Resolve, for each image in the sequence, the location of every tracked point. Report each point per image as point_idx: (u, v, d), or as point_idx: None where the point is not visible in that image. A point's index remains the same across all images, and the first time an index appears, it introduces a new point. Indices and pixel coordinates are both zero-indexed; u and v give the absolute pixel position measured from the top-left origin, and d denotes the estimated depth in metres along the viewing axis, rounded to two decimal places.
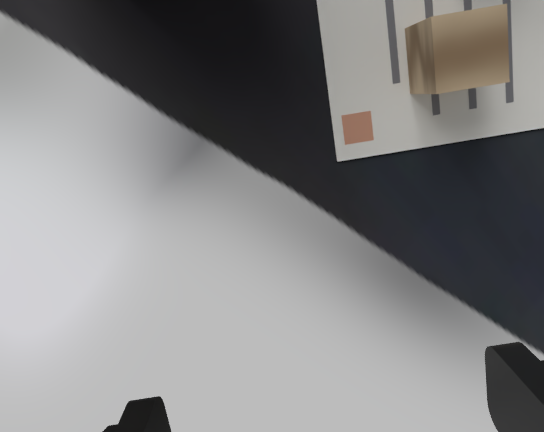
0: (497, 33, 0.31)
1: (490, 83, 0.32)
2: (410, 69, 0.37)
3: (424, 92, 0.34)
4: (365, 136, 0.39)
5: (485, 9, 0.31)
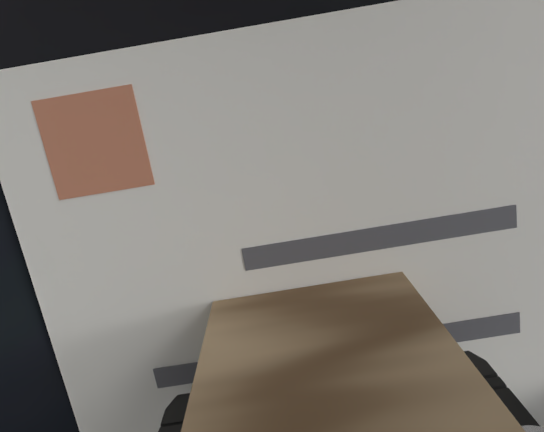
0: None
1: None
2: (284, 300, 0.12)
3: (198, 381, 0.09)
4: (68, 171, 0.11)
5: None
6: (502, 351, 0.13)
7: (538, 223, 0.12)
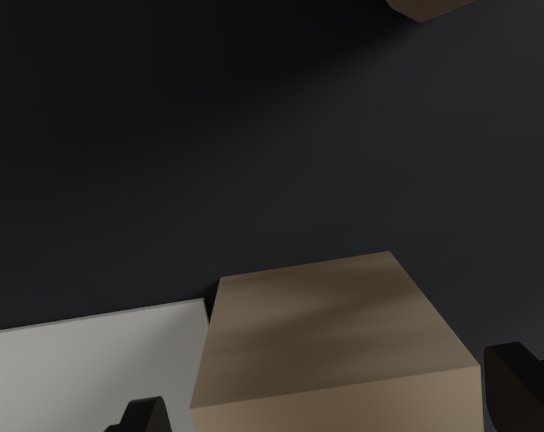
0: None
1: None
2: (284, 274, 0.13)
3: (211, 336, 0.10)
4: None
5: None
6: None
7: None
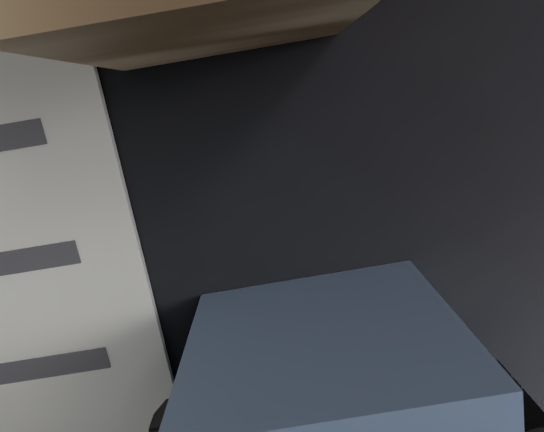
0: None
1: None
2: None
3: None
4: None
5: None
6: (68, 284, 0.12)
7: (72, 140, 0.11)
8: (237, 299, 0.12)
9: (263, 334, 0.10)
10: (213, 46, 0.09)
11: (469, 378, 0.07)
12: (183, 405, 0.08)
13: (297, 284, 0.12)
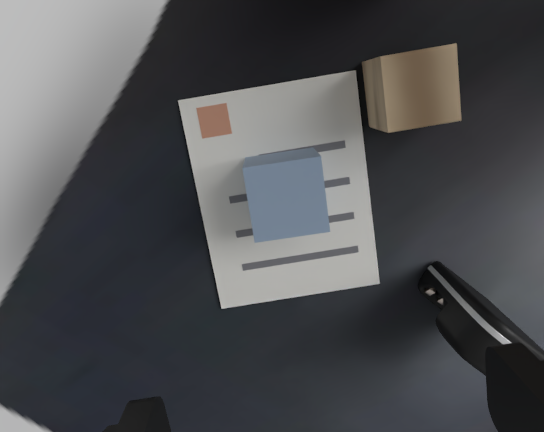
0: (434, 114, 0.32)
1: (387, 113, 0.32)
2: None
3: None
4: (205, 129, 0.37)
5: (458, 99, 0.31)
6: (345, 190, 0.39)
7: (352, 146, 0.38)
8: (257, 156, 0.37)
9: (265, 158, 0.35)
10: None
11: (312, 156, 0.33)
12: (247, 165, 0.33)
13: (276, 153, 0.37)
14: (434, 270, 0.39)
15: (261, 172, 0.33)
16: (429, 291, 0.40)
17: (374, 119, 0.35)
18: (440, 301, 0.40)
